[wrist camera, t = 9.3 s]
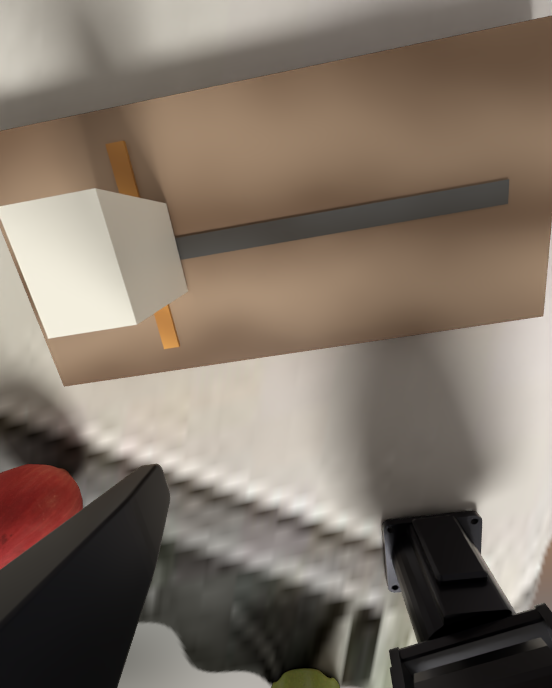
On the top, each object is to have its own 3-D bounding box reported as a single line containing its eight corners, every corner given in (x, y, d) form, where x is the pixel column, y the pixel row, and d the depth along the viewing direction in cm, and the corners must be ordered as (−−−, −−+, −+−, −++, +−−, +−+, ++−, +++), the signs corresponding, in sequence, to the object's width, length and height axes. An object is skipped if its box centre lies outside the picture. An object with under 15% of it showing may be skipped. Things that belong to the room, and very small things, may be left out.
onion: (122, 494, 23) (44, 622, 16) (52, 517, 24) (-54, 649, 17) (76, 426, 22) (-35, 532, 14) (3, 453, 22) (-141, 567, 15)
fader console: (516, 307, 18) (546, 317, 16) (84, 371, 20) (61, 388, 18) (533, 39, 15) (574, 8, 13) (0, 148, 17) (-40, 137, 14)
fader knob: (188, 291, 16) (137, 324, 11) (129, 301, 17) (48, 338, 11) (166, 203, 15) (95, 188, 9) (102, 215, 15) (-5, 207, 10)
